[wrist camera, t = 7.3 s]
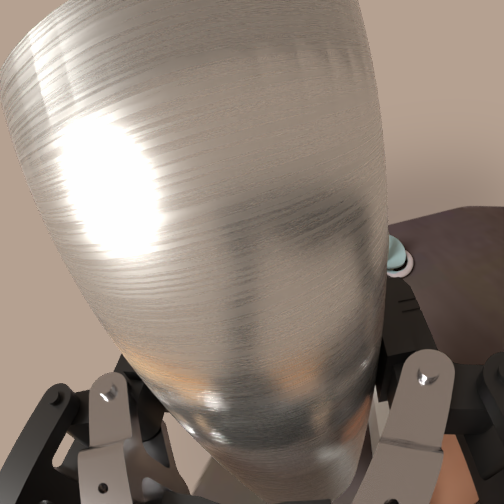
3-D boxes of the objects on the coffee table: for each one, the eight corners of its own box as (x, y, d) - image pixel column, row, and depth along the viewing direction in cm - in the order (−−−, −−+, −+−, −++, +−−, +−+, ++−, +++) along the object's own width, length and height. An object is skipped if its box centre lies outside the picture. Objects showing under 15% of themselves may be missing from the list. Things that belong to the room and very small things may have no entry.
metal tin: (331, 402, 16) (278, 35, 7) (375, 482, 11) (442, -26, 2) (235, 437, 15) (68, 97, 6) (263, 525, 10) (-89, 112, 1)
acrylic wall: (366, 408, 22) (370, 383, 19) (377, 406, 21) (383, 381, 19) (378, 563, 10) (388, 565, 8) (392, 560, 10) (405, 561, 8)
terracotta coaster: (463, 397, 19) (464, 395, 19) (515, 465, 11) (516, 464, 11) (378, 451, 18) (378, 450, 18) (427, 537, 10) (428, 536, 10)
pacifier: (413, 252, 38) (373, 248, 41) (417, 211, 35) (374, 207, 38) (411, 285, 33) (365, 279, 36) (418, 241, 30) (366, 235, 32)
